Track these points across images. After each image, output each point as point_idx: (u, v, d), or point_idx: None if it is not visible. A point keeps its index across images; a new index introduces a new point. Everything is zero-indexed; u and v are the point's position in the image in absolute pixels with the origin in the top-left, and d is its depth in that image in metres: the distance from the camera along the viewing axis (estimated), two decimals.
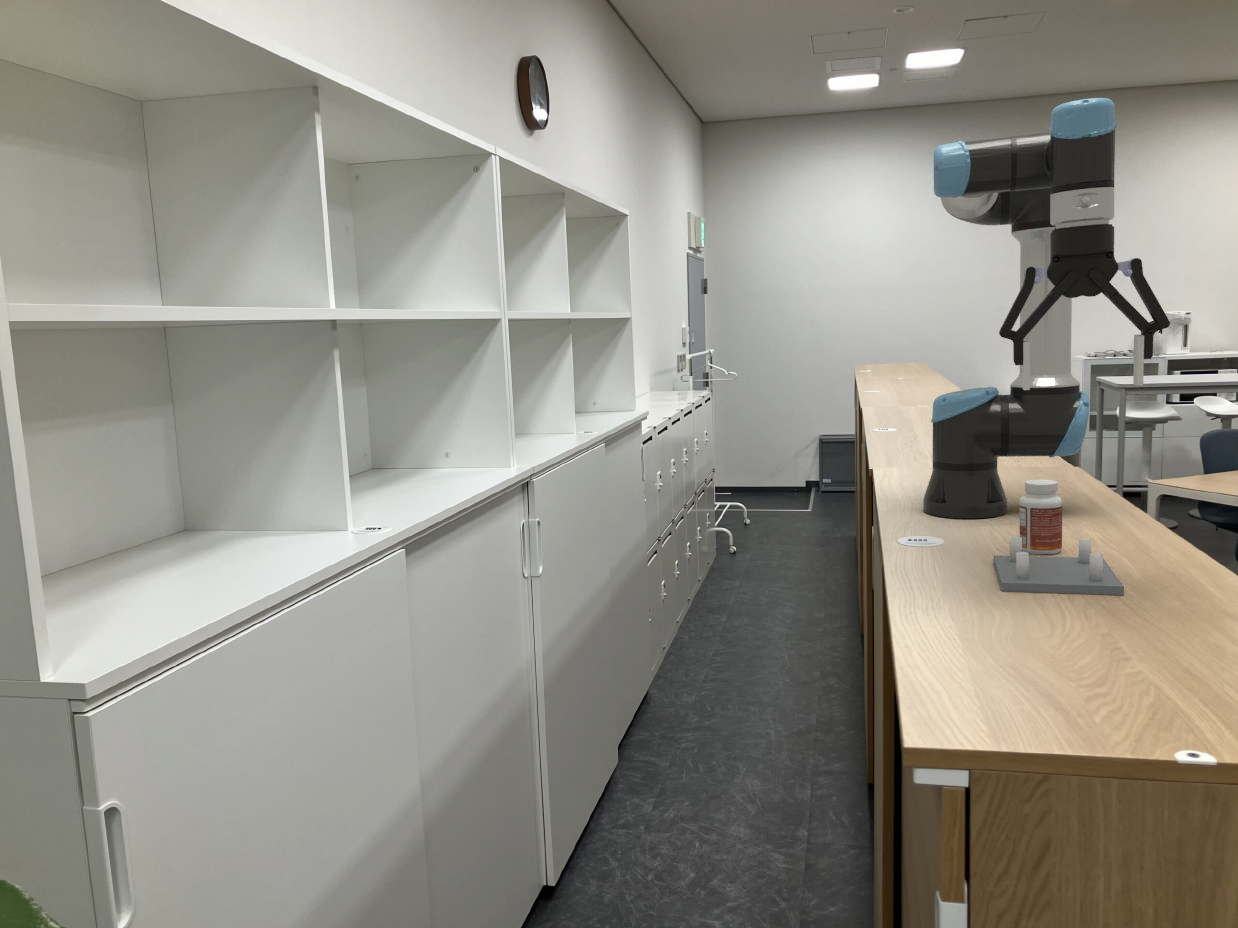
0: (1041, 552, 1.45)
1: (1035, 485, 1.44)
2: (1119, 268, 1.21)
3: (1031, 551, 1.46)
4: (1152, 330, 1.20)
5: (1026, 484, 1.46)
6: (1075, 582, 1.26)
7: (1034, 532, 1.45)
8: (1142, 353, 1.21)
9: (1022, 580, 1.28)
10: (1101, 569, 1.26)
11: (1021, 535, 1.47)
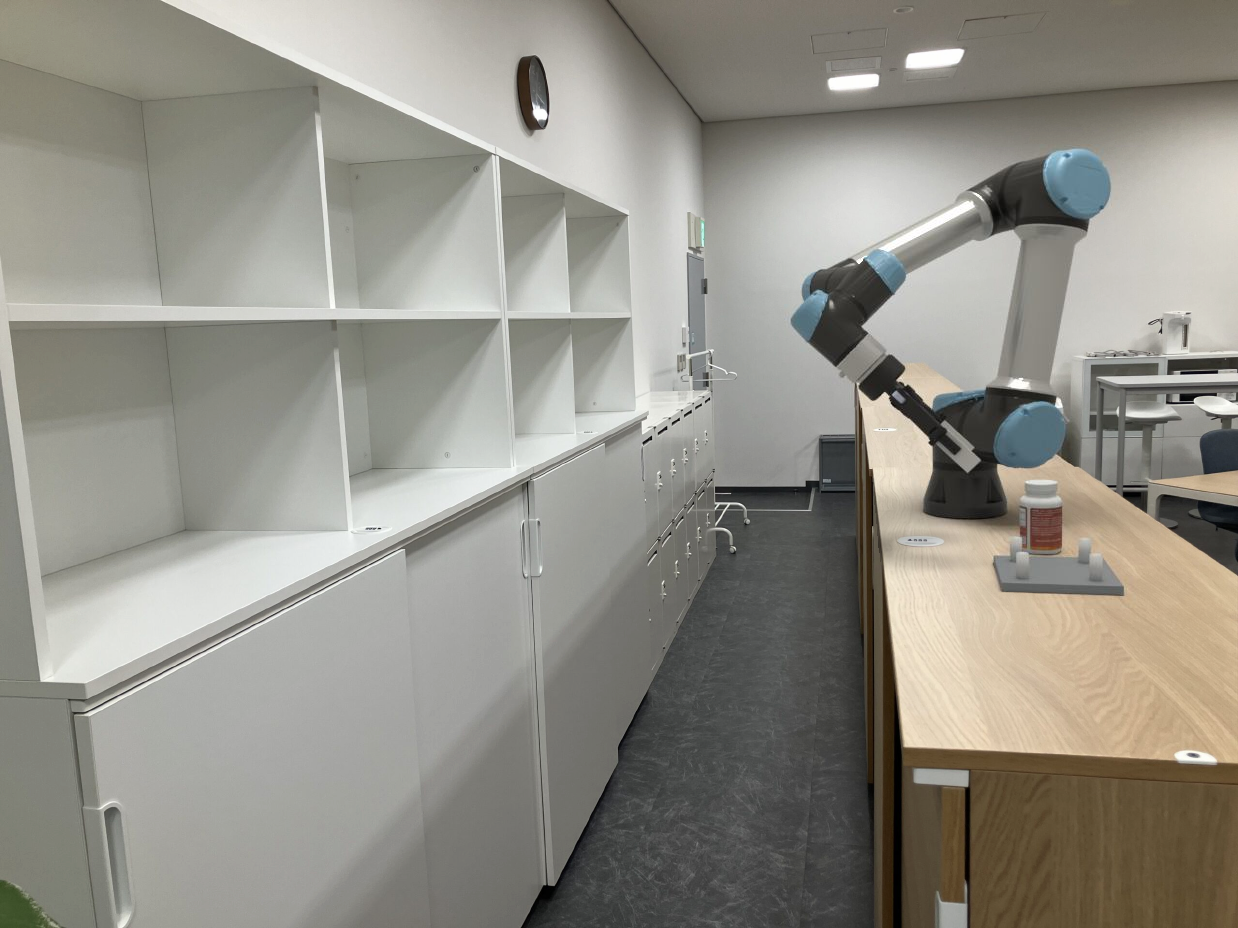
0: (1041, 552, 1.45)
1: (1035, 485, 1.44)
2: None
3: (1031, 551, 1.46)
4: None
5: (1026, 484, 1.46)
6: (1075, 582, 1.26)
7: (1034, 531, 1.45)
8: (946, 453, 1.43)
9: (1022, 580, 1.28)
10: (1101, 569, 1.26)
11: (1021, 535, 1.47)
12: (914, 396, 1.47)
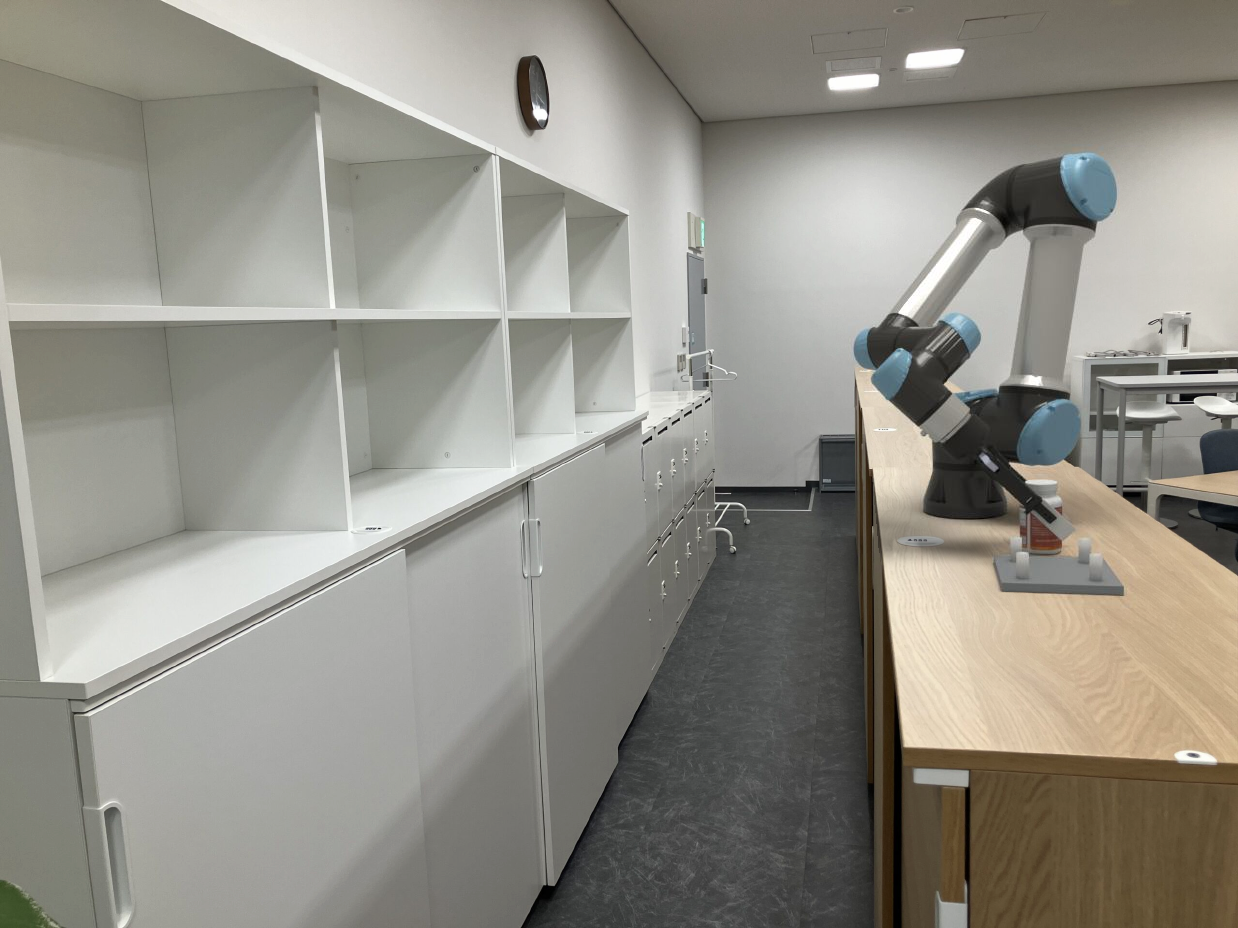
0: (1041, 552, 1.45)
1: (1035, 485, 1.44)
2: None
3: (1031, 551, 1.46)
4: (1025, 513, 1.43)
5: (1026, 484, 1.46)
6: (1075, 582, 1.26)
7: (1034, 531, 1.45)
8: None
9: (1022, 580, 1.28)
10: (1101, 569, 1.26)
11: (1021, 535, 1.47)
12: (1002, 460, 1.45)
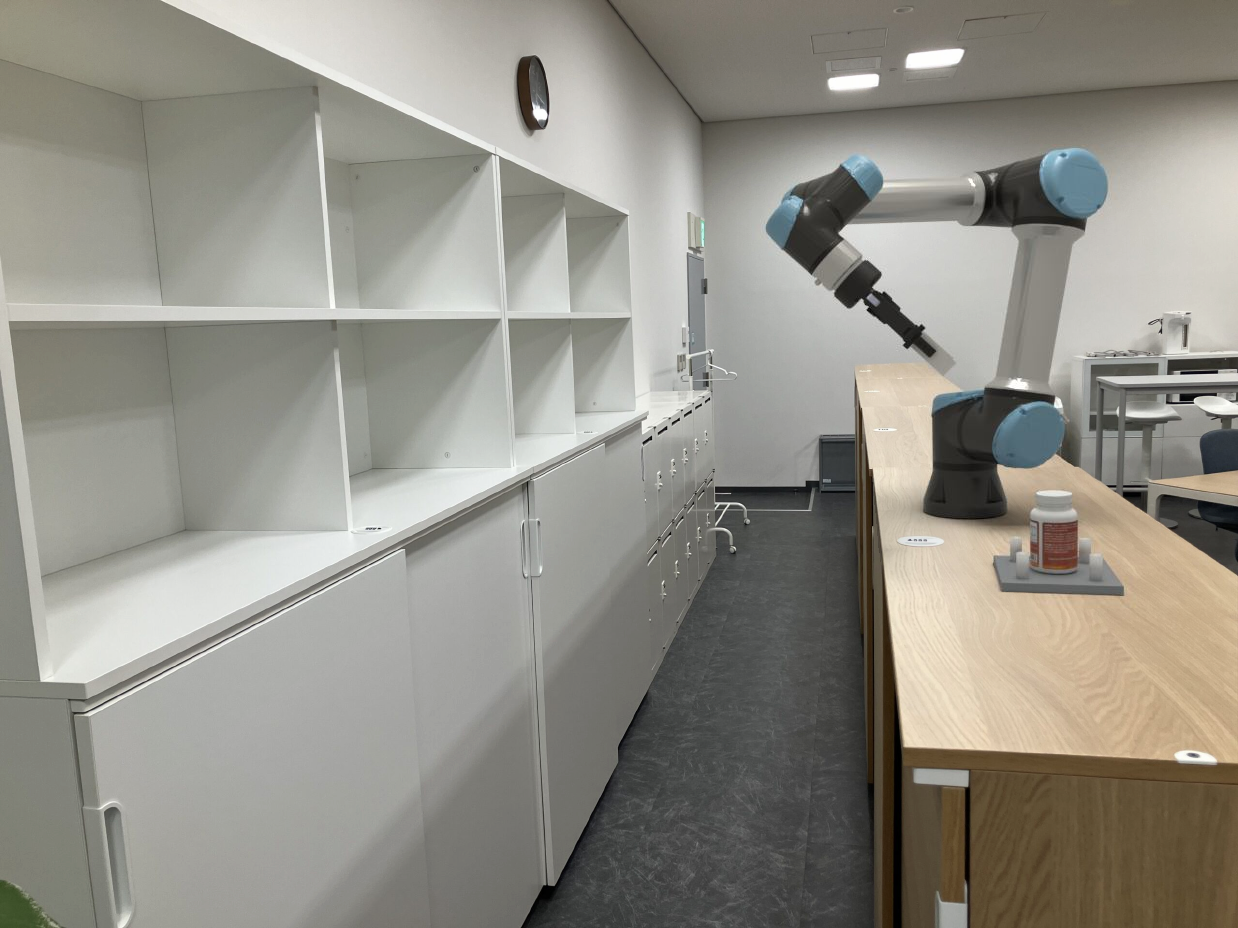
0: (1055, 571, 1.30)
1: (1048, 497, 1.29)
2: None
3: (1044, 570, 1.30)
4: None
5: (1037, 495, 1.31)
6: (1075, 582, 1.26)
7: (1046, 549, 1.30)
8: (922, 357, 1.40)
9: (1022, 580, 1.28)
10: (1101, 569, 1.26)
11: (1032, 552, 1.32)
12: (890, 301, 1.44)
